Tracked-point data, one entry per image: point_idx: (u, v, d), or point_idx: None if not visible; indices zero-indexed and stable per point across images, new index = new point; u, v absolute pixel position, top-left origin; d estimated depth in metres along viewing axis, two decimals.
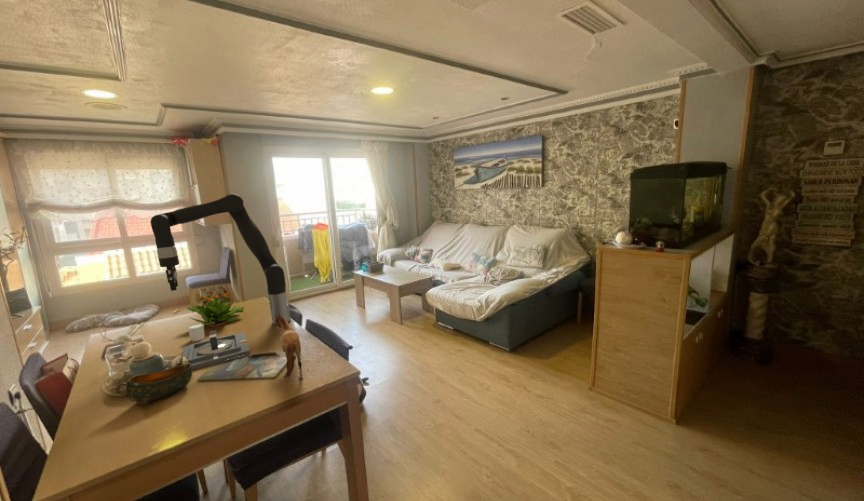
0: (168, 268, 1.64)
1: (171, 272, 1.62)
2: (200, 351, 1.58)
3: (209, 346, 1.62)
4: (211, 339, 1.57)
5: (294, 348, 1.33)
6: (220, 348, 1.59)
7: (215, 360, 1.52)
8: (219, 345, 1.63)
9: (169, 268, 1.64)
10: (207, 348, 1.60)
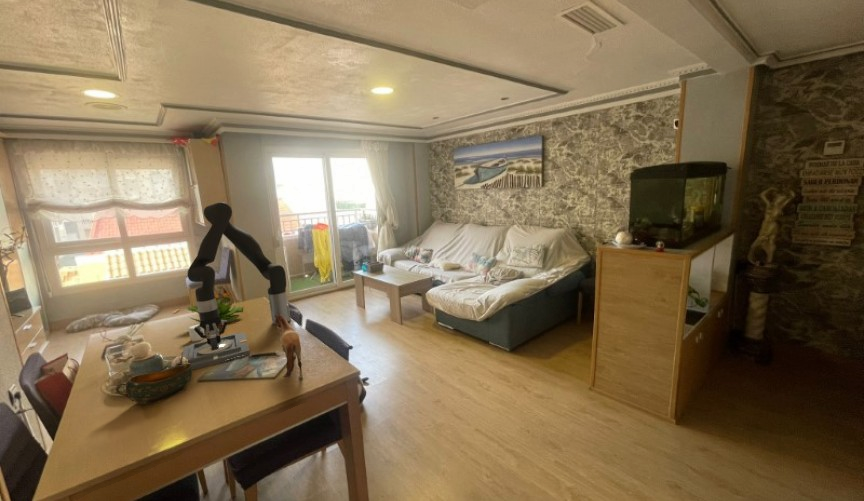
0: (219, 318, 1.62)
1: None
2: (200, 351, 1.58)
3: (209, 346, 1.62)
4: (211, 339, 1.57)
5: (294, 348, 1.33)
6: (220, 348, 1.59)
7: (215, 360, 1.52)
8: (219, 345, 1.63)
9: (219, 318, 1.62)
10: (207, 348, 1.60)
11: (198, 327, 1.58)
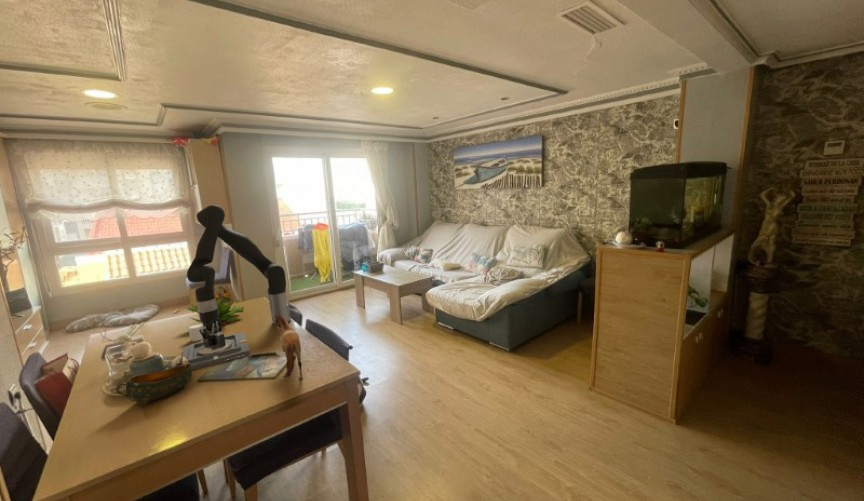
0: None
1: None
2: (208, 352, 1.56)
3: (208, 348, 1.61)
4: (220, 336, 1.60)
5: (294, 348, 1.33)
6: (227, 344, 1.63)
7: (215, 360, 1.52)
8: None
9: None
10: (211, 349, 1.59)
11: (205, 328, 1.56)
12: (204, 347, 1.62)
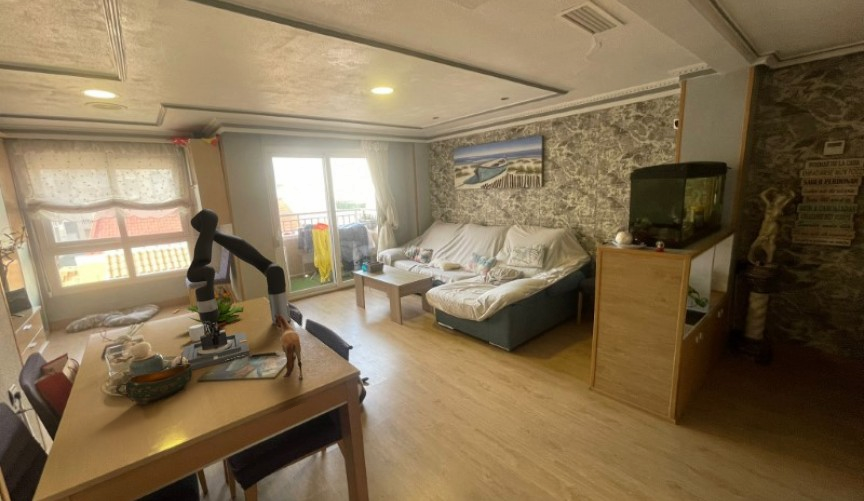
0: None
1: None
2: (222, 348, 1.59)
3: (212, 348, 1.60)
4: (225, 332, 1.64)
5: (294, 348, 1.33)
6: (226, 341, 1.67)
7: (215, 360, 1.52)
8: None
9: None
10: (218, 347, 1.61)
11: None
12: (205, 350, 1.59)
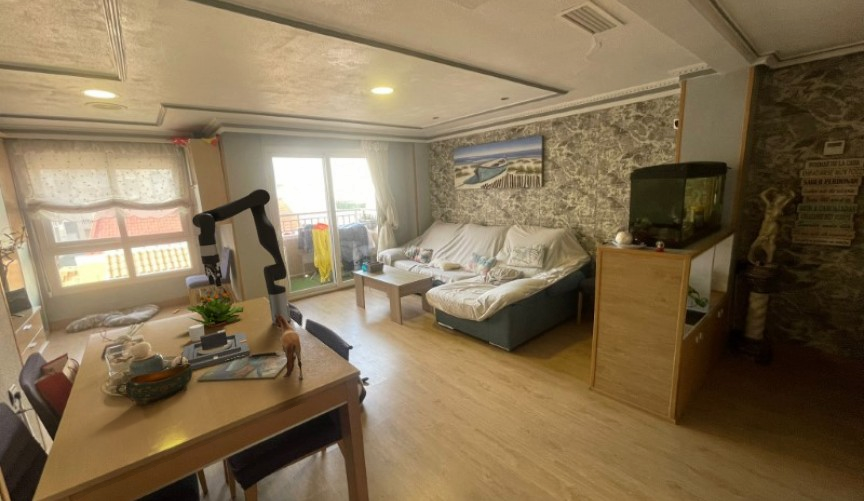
0: None
1: None
2: (222, 348, 1.59)
3: (212, 348, 1.60)
4: (225, 332, 1.64)
5: (294, 348, 1.33)
6: (226, 341, 1.67)
7: (215, 360, 1.52)
8: None
9: None
10: (218, 347, 1.61)
11: None
12: (205, 350, 1.58)
